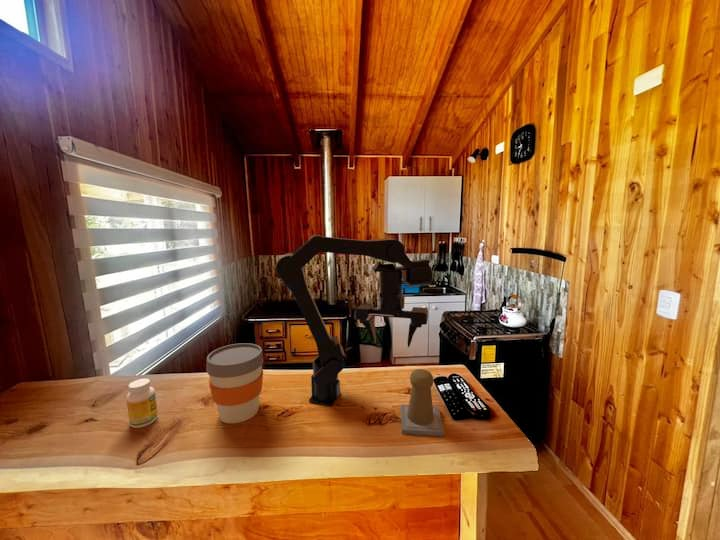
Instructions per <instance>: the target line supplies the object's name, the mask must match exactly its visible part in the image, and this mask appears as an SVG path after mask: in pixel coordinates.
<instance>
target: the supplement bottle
mask: <svg viewBox="0 0 720 540" xmlns="http://www.w3.org/2000/svg"><path fill="white" fill-rule="evenodd" d="M127 388H128V393H127V394H126V397H125V398H126V399H125V400H126V407H127V413H128V414H127V415H128V420H129V426H131V427H132V428H135V429H140V428H143V427H147V426H149V425H151V424H153V423H154V422H155V421H156V420H157V419H158V415H159V413H158V403H157V397H156V390H155V388H154V387H152V386H151V380H150V379H149V378H139V379H136V380H134V381H131V382H130V383H128V387H127Z"/></svg>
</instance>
